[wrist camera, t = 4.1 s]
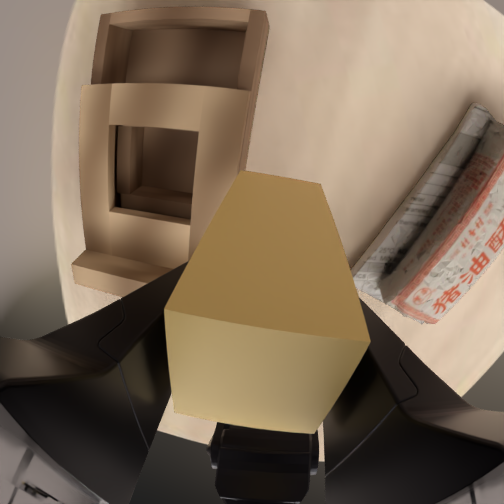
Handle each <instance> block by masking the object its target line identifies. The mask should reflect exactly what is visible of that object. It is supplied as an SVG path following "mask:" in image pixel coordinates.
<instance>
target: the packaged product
mask: <svg viewBox="0 0 504 504" xmlns="http://www.w3.org/2000/svg"><path fill="white" fill-rule="evenodd" d="M503 248H504V125H503V124H501V123H499V122H496V120H495V119H494V118H493V116H492V115H491V114H490V113H489V112H488V111H487V109H486V108H485V107H483V106H482V105H481V104H478V103H472V104H471V106H470V107H469V109H468V111H467V112H466V114H465V116H464V117H463V119H462V121H461V122H460V124H459V126H458V127H457V129H456V131H455V132H454V133H453V135H452V136H451V138H450V139H449V140H448V142H447V143H446V144H445V146H444V147H443V149H442V150H441V151H440V153H439V154H438V155H437V157H436V158H435V159H434V161H433V162H432V164H431V165H430V167H429V168H428V169H427V171H426V172H425V173H424V175H423V176H422V178H421V179H420V180H419V182H418V183H417V184H416V186H415V187H414V188H413V189H412V191H411V192H410V193H409V195H408V196H407V197H406V199H405V200H404V201H403V203H402V204H401V205H400V207H399V208H398V209H397V211H396V212H395V213H394V215H393V216H392V217H391V218H390V220H389V221H388V222H387V224H386V225H385V226H384V228H383V229H382V230H381V232H380V233H379V234H378V236H377V237H376V238H375V240H374V241H373V242H372V243H371V245H370V246H369V247H368V249H367V250H366V251H365V253H364V254H363V255H362V256H361V258H360V259H359V260H358V261H357V263H356V264H355V265H354V266H353V268H352V269H351V274H352V277H353V280H354V283H355V287H356V288H357V289H359V290H361V291H363V292H365V293H367V294H369V295H370V296H372V297H373V298H375V299H377V300H379V301H381V302H383V303H385V304H388V305H389V306H391V307H392V308H394V309H395V310H397V311H398V312H400V313H401V314H402V315H403V316H405V317H408V318H411V319H413V320H416V321H418V322H419V323H421V324H423V323H424V322H425V323H427V324H435V323H437V322H438V321H439V320H440V319H441V318H442V317H443V316H444V315H445V314H446V313H447V312H448V311H449V310H450V309H451V308H452V307H453V306H454V305H455V304H456V303H457V302H458V301H459V300H460V299H461V298H462V297H463V296H464V295H465V294H466V292H467V291H469V289H470V288H471V287H472V286H473V285H474V284H475V283H476V281H477V280H478V279H479V278H480V277H481V276H482V275H483V274H484V272H485V271H486V270H487V269H488V267H489V266H490V265H491V264H492V262H493V261H494V260H495V259H496V258H497V256H498V255H499V254H500V252H501V251H502V249H503Z"/></svg>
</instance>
